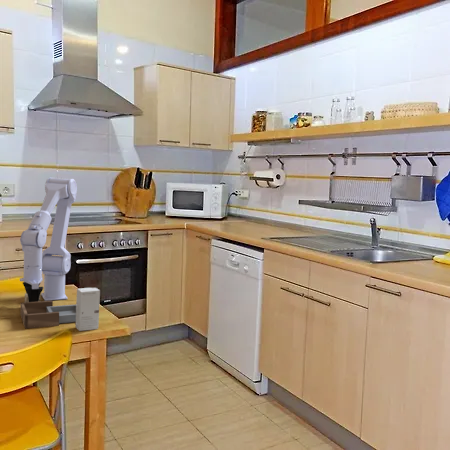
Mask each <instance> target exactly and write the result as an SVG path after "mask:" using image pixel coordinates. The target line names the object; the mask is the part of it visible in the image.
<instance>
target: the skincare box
mask: <svg viewBox="0 0 450 450" xmlns="http://www.w3.org/2000/svg"><path fill="white" fill-rule="evenodd" d="M100 298H101V289H98V287H84V288H82V287H81V288H76V300H75V301H76V322H75V328H76V329H77V330H78V331H79V332H82V331H90V330H91V331H92V330H98V329H99V320H100V302H101V301H100V300H101V299H100Z"/></svg>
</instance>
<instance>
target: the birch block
mask: <svg viewBox="0 0 450 450" xmlns="http://www.w3.org/2000/svg"><path fill="white" fill-rule="evenodd" d="M39 301H41V296H40V297H39ZM24 302H29V299H28V295H27V294H26V293H24Z"/></svg>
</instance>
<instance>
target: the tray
mask: <svg viewBox="0 0 450 450" xmlns="http://www.w3.org/2000/svg"><path fill="white" fill-rule="evenodd" d="M48 312H59V324H66V323H67V324H68V323H76V304H64V305H53V306H49V307H46V313H48Z"/></svg>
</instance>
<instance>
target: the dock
mask: <svg viewBox="0 0 450 450" xmlns="http://www.w3.org/2000/svg"><path fill="white" fill-rule="evenodd" d="M49 306H54V300H46V301H45V300H42V301H41V300H40V301H38V302H25V301H24V302H20V316H21V317H20V318H21V320H22V324H23V327H24V329H34V328H35V329H36V328H44V327H45V328H46V327H54V326H55V327H56V326H59V325H60V323H59V312H48V313H46V307H49Z"/></svg>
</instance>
